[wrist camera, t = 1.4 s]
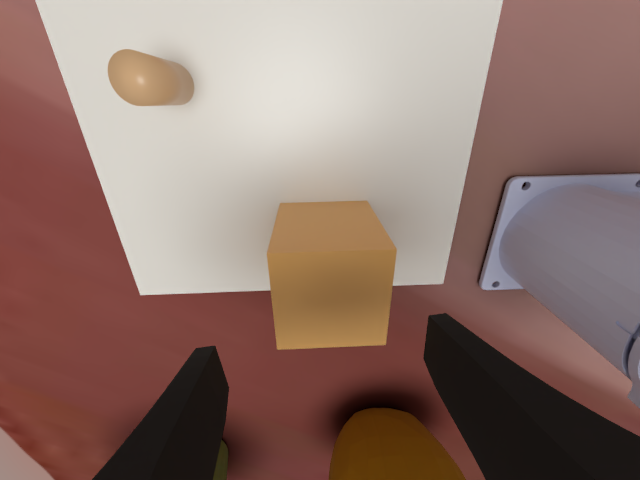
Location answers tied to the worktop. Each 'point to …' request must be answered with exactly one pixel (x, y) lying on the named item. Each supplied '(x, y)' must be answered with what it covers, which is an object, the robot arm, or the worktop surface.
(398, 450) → the apple
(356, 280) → the wooden toy cube
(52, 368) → the worktop surface
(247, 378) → the worktop surface
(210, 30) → the plate
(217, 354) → the robot arm
